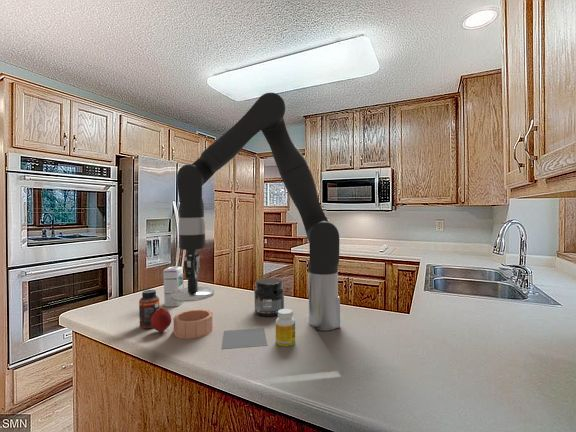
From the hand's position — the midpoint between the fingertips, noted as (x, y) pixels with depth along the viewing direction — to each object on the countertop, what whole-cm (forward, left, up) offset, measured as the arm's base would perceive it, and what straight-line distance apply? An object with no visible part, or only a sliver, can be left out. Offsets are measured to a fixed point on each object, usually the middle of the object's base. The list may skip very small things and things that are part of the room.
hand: (193, 289), depth 91 cm
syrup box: (+12, -31, -14) cm, 36 cm away
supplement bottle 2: (-26, +13, -14) cm, 32 cm away
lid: (0, 0, -2) cm, 2 cm away
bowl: (0, 0, -13) cm, 13 cm away
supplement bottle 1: (+15, -9, -14) cm, 22 cm away
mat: (-15, +8, -13) cm, 22 cm away
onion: (+10, -3, -14) cm, 17 cm away
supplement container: (-24, -12, -14) cm, 30 cm away
